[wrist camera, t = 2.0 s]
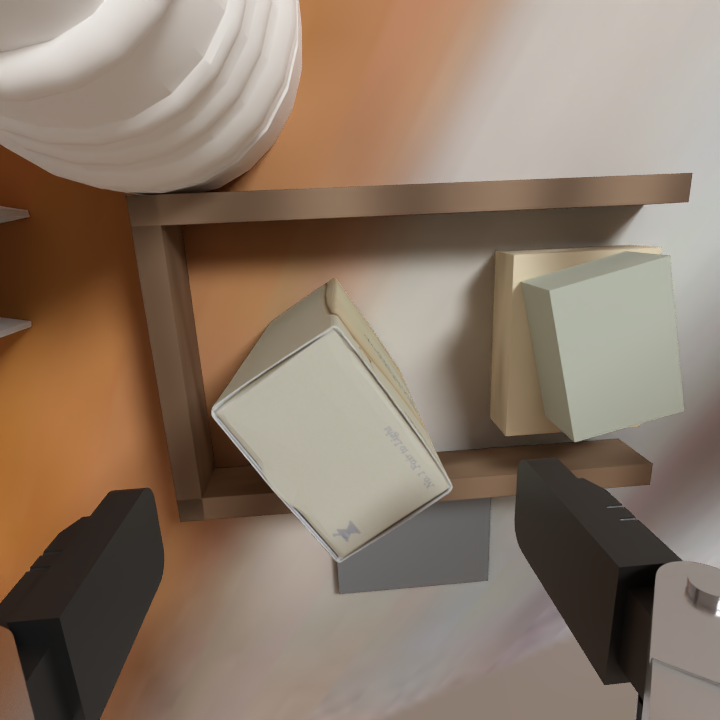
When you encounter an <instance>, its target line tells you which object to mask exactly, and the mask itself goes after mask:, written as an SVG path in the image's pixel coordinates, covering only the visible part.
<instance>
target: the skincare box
mask: <svg viewBox="0 0 720 720" xmlns="http://www.w3.org/2000/svg"><path fill="white" fill-rule="evenodd" d="M211 415H212V417H213V419H214V420H215V421H216V422H217V424H218V425H219V426H220V427H221V428H222V430H223V431H224V432H225V433H226V434H227V436H228V437H229V438H230V439H231V441H232V442H233V443H234V444H235V446H236V447H237V448H238V449H239V450H240V451H241V452H242V454H243V455H244V456H245V457H246V459H247V460H248V461H249V462H250V464H251V465H252V466H253V467H254V468H255V470H256V471H257V472H258V473H259V474H260V476H261V477H262V478H263V479H264V480H265V482H266V483H267V484H268V485H269V487H270V488H271V489H272V490H273V491H274V492H275V493H276V495H277V496H278V497H279V498H280V499H281V500H282V501H283V502H284V503H285V505H286V506H287V507H288V508H289V509H290V510H291V511H292V513H293V514H294V515H295V516H296V517H297V518H298V519H299V520H300V521H301V523H302V524H303V525H304V526H305V527H306V528H307V529H308V531H309V532H310V533H311V534H312V535H313V536H314V537H315V538H316V539H317V540H318V542H319V543H320V544H321V545H322V546H323V547H324V548H325V549H326V551H327V552H328V553H329V554H330V555H331V556H332V558H333V559H334V560H335V561H336V562H338V563H341V562H343V561H344V560H346V559H347V558H349V557H350V556H352V555H353V554H355V553H357V552H359V551H360V550H362V549H363V548H365V547H367V546H368V545H370V544H371V543H373V542H375V541H376V540H378V539H379V538H381V537H383V536H385V535H386V534H387V533H389V532H391V531H392V530H394V529H395V528H397V527H398V526H400V525H401V524H403V523H405V522H406V521H408V520H410V519H411V518H413V517H414V516H416V515H417V514H419V513H420V512H422V511H423V510H425V509H426V508H428V507H429V506H431V505H432V504H434V503H435V502H437V501H438V500H440V499H441V498H442V497H444V496H445V495H447V494H449V493H450V492H451V490H452V488H453V486H452V483H451V481H450V479H449V477H448V475H447V473H446V471H445V469H444V467H443V465H442V463H441V461H440V459H439V457H438V455H437V453H436V450H435V448H434V446H433V444H432V442H431V440H430V437H429V435H428V433H427V431H426V428H425V426H424V424H423V422H422V420H421V417H420V415H419V413H418V411H417V408H416V406H415V404H414V402H413V399H412V397H411V395H410V392H409V390H408V388H407V386H406V383H405V381H404V379H403V376H402V374H401V372H400V370H399V368H398V367H397V365H396V364H395V362H394V361H393V359H392V358H391V356H390V355H389V353H388V352H387V350H386V349H385V347H384V346H383V344H382V343H381V341H380V340H379V338H378V337H377V335H376V334H375V333H374V331H373V330H372V328H371V327H370V325H369V324H368V322H367V321H366V319H365V318H364V317H363V315H362V314H361V312H360V311H359V310H358V308H357V307H356V305H355V304H354V302H353V301H352V300H351V298H350V297H349V295H348V294H347V293H346V291H345V290H344V289H343V287H342V286H341V284H340V283H339V281H338V280H337V279H336V278H333V279H332V280H330V281H329V282H327V283H326V284H324V285H323V286H321V287H320V288H318V289H317V290H315V291H314V292H312V293H311V294H309V295H308V296H306V297H305V298H304V299H302V300H301V301H299V302H298V303H296V304H295V305H294V306H292V307H291V308H289V309H288V310H286V311H285V312H284V313H282V314H281V315H279V316H278V317H277V318H275V319H274V320H273V321H271V322H270V324H269V325H268V327H267V328H266V330H265V331H264V332H263V334H262V336H261V337H260V338H259V340H258V341H257V343H256V344H255V346H254V347H253V349H252V350H251V352H250V353H249V355H248V356H247V358H246V359H245V361H244V362H243V363H242V365H241V366H240V368H239V369H238V371H237V372H236V374H235V375H234V377H233V378H232V380H231V381H230V383H229V384H228V385H227V387H226V388H225V390H224V391H223V393H222V394H221V396H220V397H219V399H218V400H217V401H216V403H215V404H214V405H213V407H212V409H211Z"/></svg>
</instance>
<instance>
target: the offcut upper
mask: <svg viewBox="0 0 720 720" xmlns="http://www.w3.org/2000/svg"><path fill="white" fill-rule="evenodd" d="M521 286H522V291H523V297H524V302H525V308H526V313H527V319H528V324H529V330H530V335H531V341H532V346H533V352H534V357H535V362H536V368H537V373H538V379H539V384H540V390H541V395H542V401H543V406H544V412H545V416H546V417H547V418H548V419H549V420H550V421H551V422H552V423H553V424H555V425H556V426H557V427H558V428H559V429H560V430H561V431H562V432H564V433H565V434H566V435H567V436H568V437H569V438H570V439H571V440H572V441H574V442H578V441H581V440H585V439H589V438H592V437H596V436H599V435H603V434H606V433H610V432H613V431H617V430H620V429H624V428H627V427H631V426H634V425H638V424H641V423H645V422H648V421H652V420H655V419H659V418H662V417H666V416H669V415H673V414H676V413H680V412H683V411H684V403H683V392H682V381H681V370H680V359H679V348H678V337H677V326H676V315H675V304H674V293H673V282H672V271H671V259H670V256H669V255H659V254H650V253H640V252H630V251H624V252H621V253H617V254H614V255H611V256H607V257H604V258H600V259H597V260H593V261H590V262H586V263H583V264H580V265H576V266H573V267H569V268H566V269H562V270H559V271H555V272H552V273H549V274H545V275H542V276H538V277H535V278H531V279H528V280H525V281H521Z"/></svg>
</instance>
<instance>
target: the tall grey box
mask: <svg viewBox="0 0 720 720" xmlns="http://www.w3.org/2000/svg"><path fill="white" fill-rule="evenodd" d="M27 217H30V215H29V213H28V210H24V209H17V208H11V207H4V206H0V223H4V222H9V221H13V220H18V219H23V218H27ZM29 327H32V325H31V321H27V320H19V319H11V318H3V317H0V338H1V337H4V336H7V335H10V334H12V333H15V332H18V331H21V330H24V329H27V328H29Z"/></svg>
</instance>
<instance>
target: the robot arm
mask: <svg viewBox="0 0 720 720" xmlns="http://www.w3.org/2000/svg"><path fill="white" fill-rule="evenodd" d="M515 532H516V537H517V541H518V544H519V547H520V549H521V551H522V553H523V554H524V556H525V558H526V559H527V561H528V562H529V564H530V566H531V567H532V569H533V570H534V572H535V574H536V575H537V577H538V579H539V580H540V582H541V583H542V585H543V587H544V588H545V590H546V591H547V593H548V595H549V596H550V598H551V600H552V601H553V603H554V604H555V606H556V608H557V609H558V611H559V612H560V614H561V616H562V617H563V619H564V621H565V622H566V624H567V625H568V627H569V629H570V630H571V632H572V633H573V635H574V637H575V638H576V640H577V642H578V643H579V645H580V646H581V648H582V650H583V651H584V653H585V654H586V656H587V658H588V659H589V661H590V663H591V664H592V666H593V667H594V669H595V671H596V672H597V674H598V675H599V677H600V679H601V680H602V682H603V683H604V685H609V684H618V683H627V682H631V684H632V685H633V686H634V688H635V689H636V691H637V692H638V695H637V702H636V708H635V720H720V569H718V568H715V567H712V566H709V565H705V564H701V563H696V562H689V561H682V560H681V559H680V558H679V557H678V556H677V555H676V554H675V553H674V552H673V551H672V550H670V549H669V548H668V547H667V546H666V545H665V544H664V543H663V542H662V541H661V540H660V539H659V538H658V537H656V536H655V535H654V534H653V533H652V532H651V531H650V530H649V529H648V528H647V527H646V526H645V525H643V524H642V523H641V522H640V521H639V520H636V519H635V516H634V515H633V514H632V513H631V512H629V511H628V510H627V509H626V508H625V507H624V508H623V507H622V504H621V503H620V502H619V501H618V500H616V499H615V498H614V497H613V496H612V495H611V494H610V493H609V492H608V491H607V490H605V489H604V488H602V487H600V486H598V485H596V484H594V483H592V482H590V481H588V480H586V479H584V478H577V477H576V476H575V475H574V474H573V473H572V472H571V471H570V470H569V469H568V468H567V467H566V466H565V465H564V464H563V463H562V462H561V461H560V460H558V459H557V458H543V459H530V460H522V461H520V463H519V465H518V470H517V486H516V504H515ZM163 569H164V549H163V543H162V538H161V532H160V526H159V521H158V515H157V509H156V504H155V499H154V495H153V492H152V491H151V489H149V488H140V489H127V490H114V491H110V492H109V493H108V494H107V495H106V497H105V498H104V499H103V500H102V502H101V503H100V504H99V505H98V507H97V508H96V509H95V511H94V512H93V513H92V514H91V516H88V517H82V518H80V519H79V520H78V521H76V522H75V523H73V524H72V525H70V526H69V527H68V528H66V529H65V530H63V531H62V532H60V533H59V534H58V535H57V536H56V538H55V539H54V540H53V541H52V542H51V544H50V545H49V546H48V547H47V548H46V550H45V551H44V554H43V555H42V556H40V557H39V558H38V559H37V560H36V561H35V563H34V564H33V565H32V566H31V567H30V572H26V573H25V575H24V576H23V577H22V578H21V579H20V580H19V582H18V583H17V584H16V585H15V586H14V588H13V589H12V590H11V591H10V592H9V594H8V595H7V596H6V597H5V598H4V600H3V601H2V602H1V603H0V720H100V717H101V715H102V713H103V711H104V708H105V706H106V704H107V702H108V699H109V697H110V695H111V693H112V690H113V688H114V686H115V684H116V681H117V679H118V677H119V675H120V672H121V670H122V668H123V666H124V663H125V661H126V659H127V656H128V654H129V652H130V650H131V647H132V645H133V643H134V641H135V638H136V636H137V634H138V632H139V629H140V627H141V625H142V623H143V620H144V618H145V616H146V614H147V611H148V609H149V607H150V605H151V602H152V600H153V598H154V596H155V593H156V591H157V589H158V587H159V584H160V582H161V579H162V575H163Z"/></svg>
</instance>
